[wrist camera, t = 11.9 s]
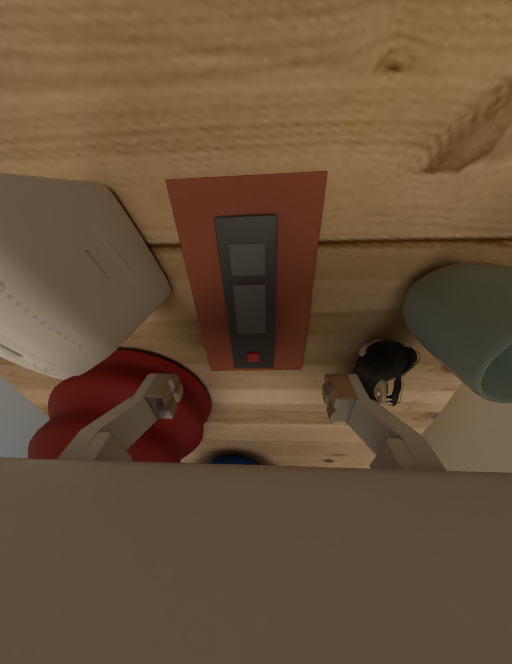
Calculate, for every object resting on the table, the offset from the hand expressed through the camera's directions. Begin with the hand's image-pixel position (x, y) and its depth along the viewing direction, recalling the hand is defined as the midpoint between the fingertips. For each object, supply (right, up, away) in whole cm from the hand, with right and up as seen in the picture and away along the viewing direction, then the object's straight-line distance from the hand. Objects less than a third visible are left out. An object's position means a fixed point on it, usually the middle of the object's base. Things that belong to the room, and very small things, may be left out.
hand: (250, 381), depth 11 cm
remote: (0, +6, +9) cm, 11 cm away
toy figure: (+14, -3, +16) cm, 21 cm away
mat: (0, +6, +9) cm, 11 cm away
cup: (+18, +7, +9) cm, 21 cm away
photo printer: (-11, +10, +7) cm, 17 cm away
